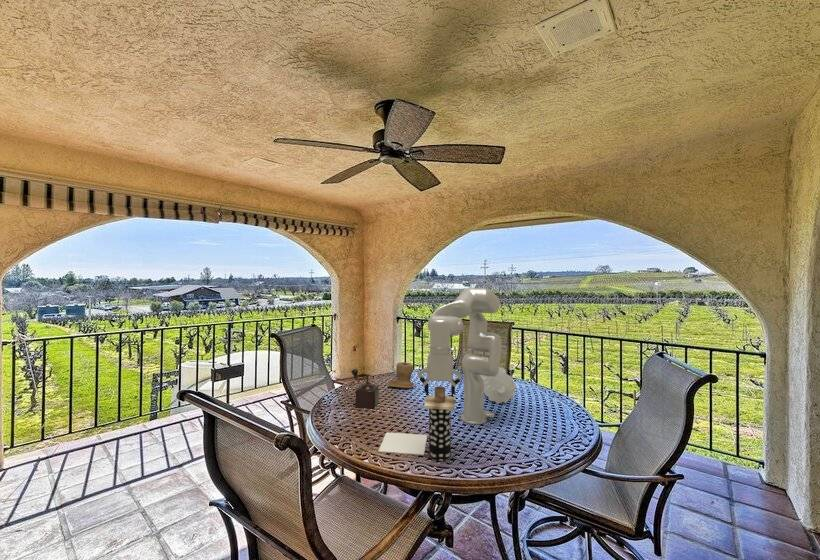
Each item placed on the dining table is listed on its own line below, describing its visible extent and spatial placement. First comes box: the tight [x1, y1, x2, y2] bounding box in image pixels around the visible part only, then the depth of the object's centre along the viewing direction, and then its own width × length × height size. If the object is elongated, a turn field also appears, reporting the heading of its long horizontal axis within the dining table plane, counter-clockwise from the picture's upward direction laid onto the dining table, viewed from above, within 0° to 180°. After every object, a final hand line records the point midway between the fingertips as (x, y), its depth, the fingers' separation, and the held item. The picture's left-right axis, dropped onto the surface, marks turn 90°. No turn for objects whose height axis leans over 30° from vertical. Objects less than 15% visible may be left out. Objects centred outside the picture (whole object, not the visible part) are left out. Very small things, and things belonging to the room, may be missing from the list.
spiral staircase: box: [480, 366, 517, 405], centre depth 192 cm, size 18×18×25 cm
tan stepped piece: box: [387, 361, 414, 389], centre depth 211 cm, size 15×12×15 cm
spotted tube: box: [428, 409, 452, 462], centre depth 130 cm, size 8×8×20 cm
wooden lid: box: [423, 386, 455, 411], centre depth 130 cm, size 11×11×6 cm
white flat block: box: [377, 432, 428, 456], centre depth 139 cm, size 18×16×1 cm
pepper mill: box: [351, 368, 380, 410], centre depth 182 cm, size 16×11×18 cm
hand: (439, 395), depth 130 cm, fingers open, 9 cm apart
